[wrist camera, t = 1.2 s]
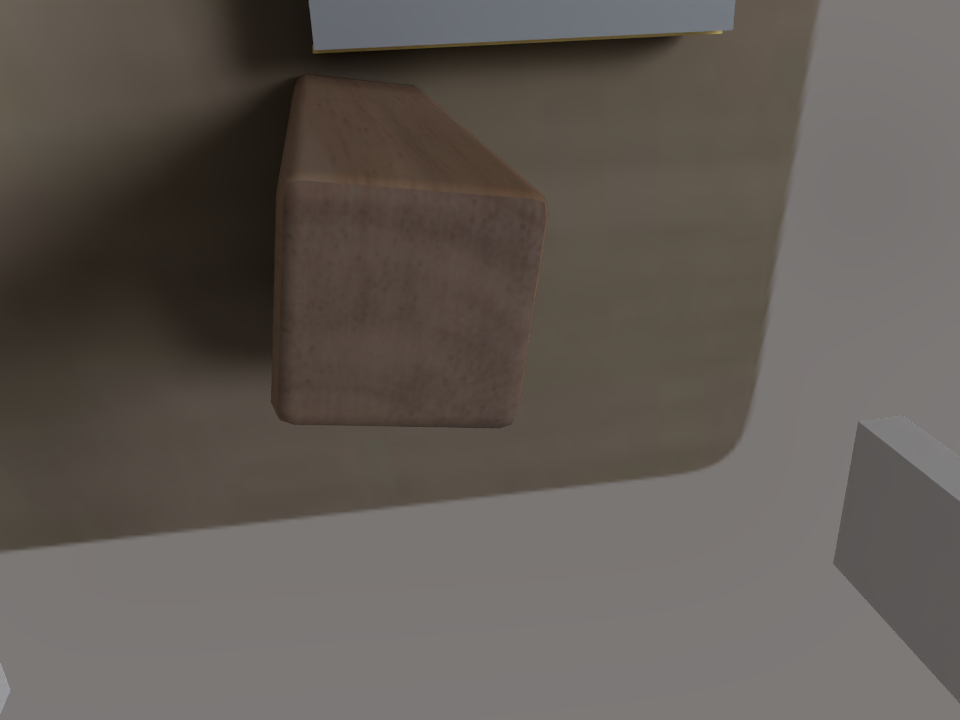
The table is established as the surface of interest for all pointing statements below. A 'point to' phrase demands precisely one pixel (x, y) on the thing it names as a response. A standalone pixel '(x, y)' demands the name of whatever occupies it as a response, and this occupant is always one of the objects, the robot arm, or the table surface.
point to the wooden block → (398, 264)
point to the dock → (505, 21)
